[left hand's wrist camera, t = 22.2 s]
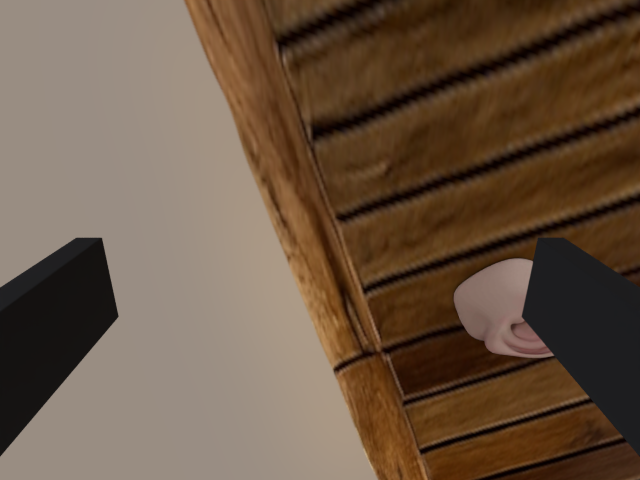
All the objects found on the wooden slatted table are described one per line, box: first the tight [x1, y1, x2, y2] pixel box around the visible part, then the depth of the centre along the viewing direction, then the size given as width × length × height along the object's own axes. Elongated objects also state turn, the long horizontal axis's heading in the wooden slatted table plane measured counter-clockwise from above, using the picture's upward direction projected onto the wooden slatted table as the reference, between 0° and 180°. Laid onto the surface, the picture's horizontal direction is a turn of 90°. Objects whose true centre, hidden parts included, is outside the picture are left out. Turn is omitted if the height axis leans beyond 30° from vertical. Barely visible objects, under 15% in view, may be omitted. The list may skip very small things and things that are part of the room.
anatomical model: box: [454, 258, 554, 358], centre depth 43 cm, size 13×4×12 cm
